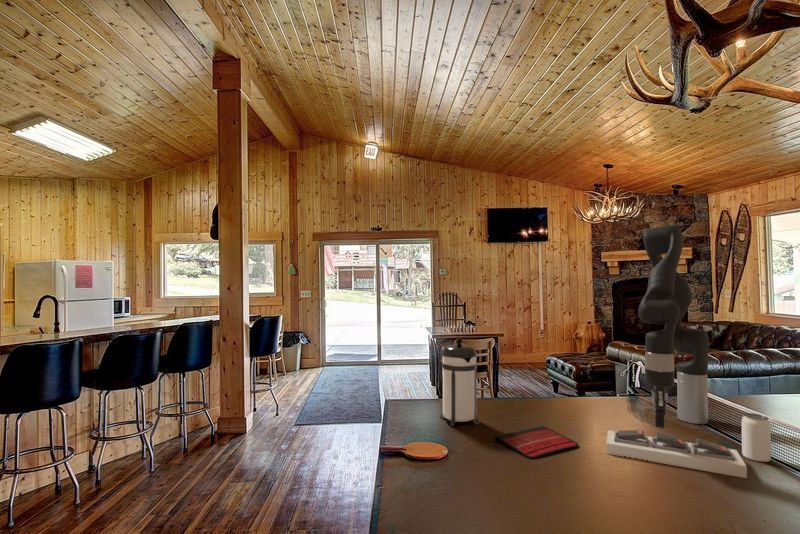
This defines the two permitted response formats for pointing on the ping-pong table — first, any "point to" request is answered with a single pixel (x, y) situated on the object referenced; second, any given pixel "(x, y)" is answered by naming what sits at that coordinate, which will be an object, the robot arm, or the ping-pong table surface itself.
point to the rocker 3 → (712, 447)
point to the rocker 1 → (631, 434)
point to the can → (756, 437)
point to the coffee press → (459, 383)
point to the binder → (536, 442)
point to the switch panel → (677, 455)
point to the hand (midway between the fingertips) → (659, 426)
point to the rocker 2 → (670, 440)
